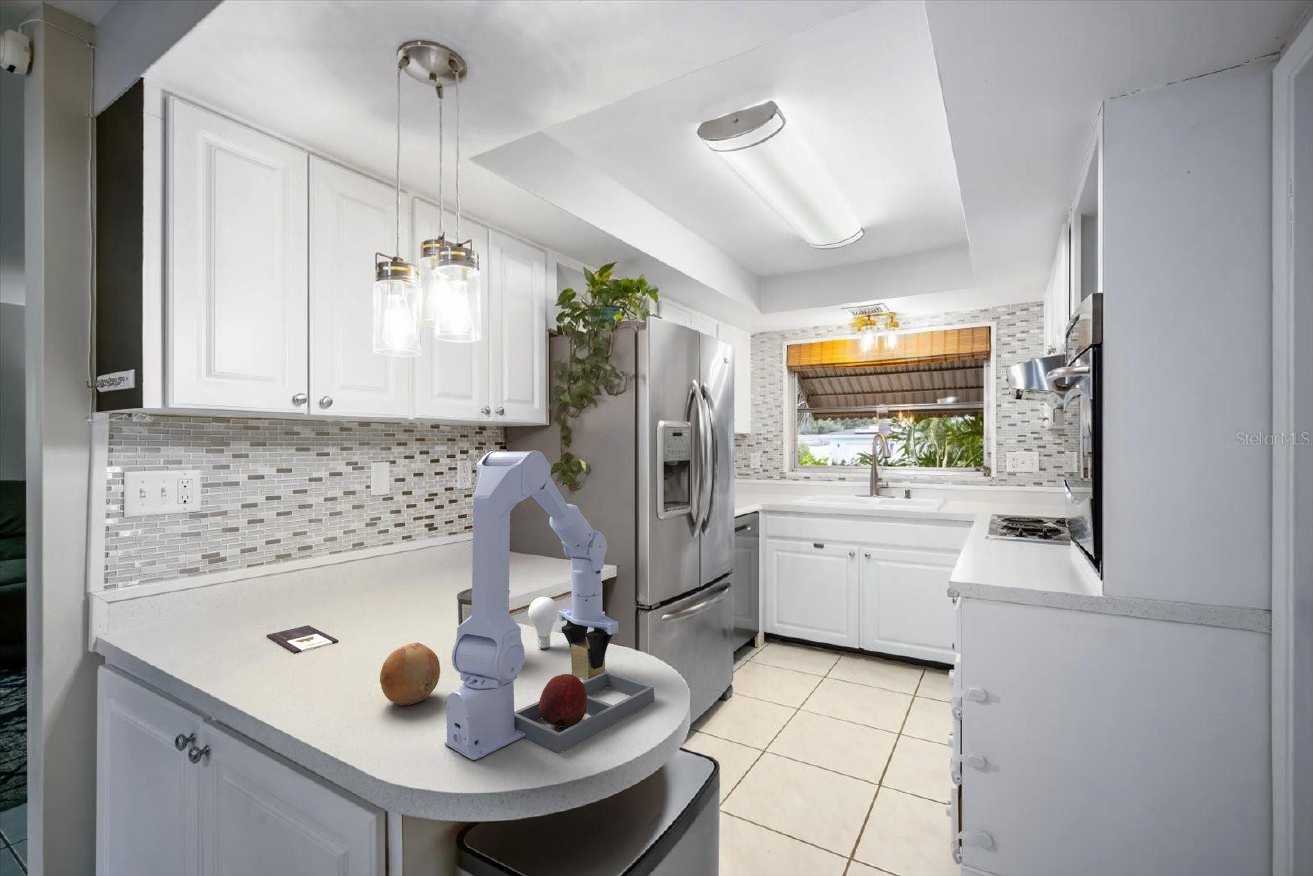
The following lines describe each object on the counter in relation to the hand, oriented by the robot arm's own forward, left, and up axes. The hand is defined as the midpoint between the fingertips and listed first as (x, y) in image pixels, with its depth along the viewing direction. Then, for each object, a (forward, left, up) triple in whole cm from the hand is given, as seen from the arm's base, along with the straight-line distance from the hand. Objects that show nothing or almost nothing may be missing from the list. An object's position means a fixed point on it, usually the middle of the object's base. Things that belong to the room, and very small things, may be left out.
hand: (588, 664), depth 116 cm
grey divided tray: (-12, -12, -2) cm, 17 cm away
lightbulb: (+4, +18, -2) cm, 19 cm away
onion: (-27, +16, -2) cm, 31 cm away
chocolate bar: (-26, +68, -3) cm, 73 cm away
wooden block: (0, 0, -2) cm, 2 cm away
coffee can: (-8, +22, -2) cm, 24 cm away
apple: (-17, -12, -2) cm, 21 cm away
